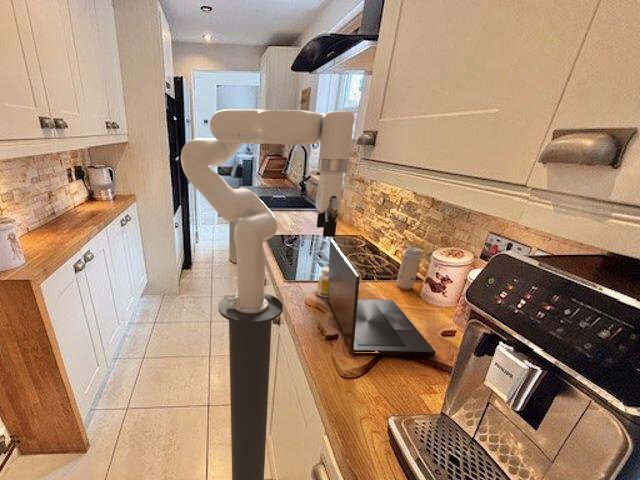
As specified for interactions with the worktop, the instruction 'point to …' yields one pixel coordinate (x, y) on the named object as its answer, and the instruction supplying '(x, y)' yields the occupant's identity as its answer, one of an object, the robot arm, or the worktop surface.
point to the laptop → (387, 331)
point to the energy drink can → (409, 267)
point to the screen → (343, 292)
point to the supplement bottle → (323, 283)
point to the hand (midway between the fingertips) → (325, 231)
